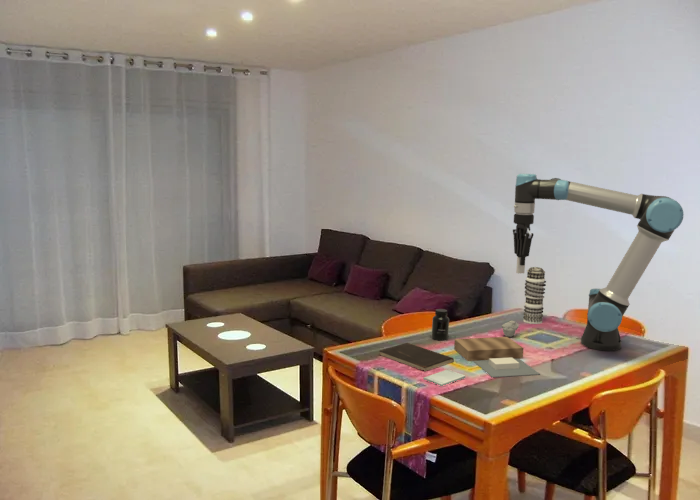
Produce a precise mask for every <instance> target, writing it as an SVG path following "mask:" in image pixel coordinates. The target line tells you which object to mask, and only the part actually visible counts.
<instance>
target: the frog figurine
mask: <svg viewBox="0 0 700 500" xmlns="http://www.w3.org/2000/svg"><path fill="white" fill-rule="evenodd" d="M519 324H520V323H518V322H516V320H509V321H507V322H505V323H503V324H502V325H501V328H502V332H503V334H504V337H508V338H511V337H513V336H515V333H516V331H517V330H518V329H519V328H520V327H519V326H520V325H519Z"/></svg>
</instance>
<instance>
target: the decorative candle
mask: <svg viewBox="0 0 700 500" xmlns="http://www.w3.org/2000/svg"><path fill="white" fill-rule="evenodd" d="M526 273H527V274H526V275H527V276H526V279H525V283H524V285H525V286H524V289H525V290H524V297H525V302H524V305H523V307H524V309H523V311H524V312H523V316H522V317H523V320H522V321H523V322H524V323H525V324H530V325H539V324H540V325H541V324H543V320H544V319H543V317H544V315H543V313H544V311H543V310H544V298H545V296H544V295H545V294H546V292H545V291H546V288H545V286H547V285H546V283H547V280H546V279H545V275H546V271H545V270H544V269H543V268H542V267H538V266H530V267H529V268H528V269H527V270H526Z"/></svg>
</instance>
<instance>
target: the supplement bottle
mask: <svg viewBox="0 0 700 500" xmlns="http://www.w3.org/2000/svg"><path fill="white" fill-rule="evenodd" d="M434 314H435V315H434V316H433V317H432V320H431V321H432V322H431V323H432V324H431V338H432V340H435V341H447V340H448V339H449V328H450V318H449V317H448V310H447V309H445V308H437V309H435V313H434Z"/></svg>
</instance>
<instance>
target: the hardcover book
mask: <svg viewBox="0 0 700 500" xmlns="http://www.w3.org/2000/svg"><path fill="white" fill-rule="evenodd" d="M378 352H380V353H379V354H380V356H382V357H385V358H388V359H390V360H392V361H396V362H398V363H401V364H404V365H405V366H406V365H407V366H409V367H412V368H414V367H416V368H415V369H417V368H418V370H420V369H421V370H420V371H422V370H424V371H423V372H428V371H431V370H434V369H436V367H437V368H439V366H440V367H443V366H446V365H448V364H452V363H454V361H455V360H454V359H455V358H454V357H452V356H449V355H446V354H443V353H440V352H436V351H433V350H431V349H427V348H424V347H421V346H418V345H416V344H412V343H410V342H405V343H404V342H403V343H402V344H397V345H395V346H391V347H387V348H384V349H380V350H379V351H378ZM433 368H434V369H433ZM430 369H431V370H430ZM427 370H428V371H427Z"/></svg>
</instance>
